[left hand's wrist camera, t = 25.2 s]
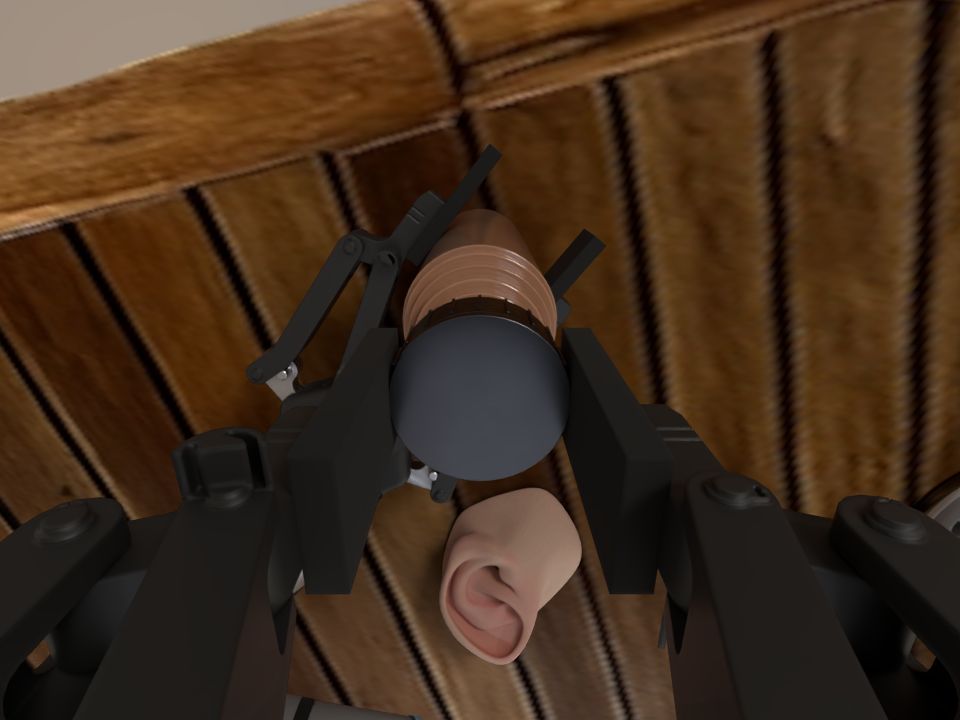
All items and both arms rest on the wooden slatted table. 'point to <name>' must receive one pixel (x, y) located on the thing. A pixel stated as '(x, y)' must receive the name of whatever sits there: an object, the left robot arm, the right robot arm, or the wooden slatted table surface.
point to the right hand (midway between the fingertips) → (545, 195)
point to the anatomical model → (505, 570)
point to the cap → (479, 389)
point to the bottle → (480, 270)
